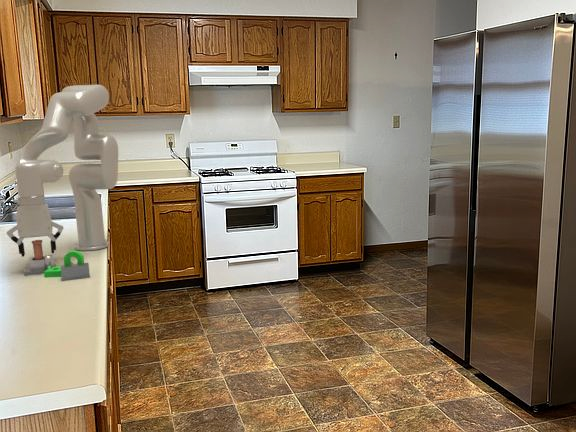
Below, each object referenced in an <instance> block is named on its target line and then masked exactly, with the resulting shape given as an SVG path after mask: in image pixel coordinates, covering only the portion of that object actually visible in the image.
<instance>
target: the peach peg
mask: <svg viewBox="0 0 576 432" xmlns="http://www.w3.org/2000/svg"><path fill="white" fill-rule="evenodd" d="M31 244H32V248H33V249H32V250H33V257H34V258H35V260H41V259H43V256H44V251H43V240H42V239H35V240H32V241H31Z"/></svg>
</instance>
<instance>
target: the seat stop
mask: <svg viewBox="0 0 576 432" xmlns="http://www.w3.org/2000/svg"><path fill="white" fill-rule="evenodd" d="M89 264H90V263H89V262H84V263H80V264H77V263H73V264H71V265H64V264H63V265H60V266H61V275H62V277H61V281H62V282H64V281H71V280H81V279H87V278H90V277H91V276H90V275H91V274H90V265H89Z"/></svg>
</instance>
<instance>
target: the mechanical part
mask: <svg viewBox="0 0 576 432" xmlns="http://www.w3.org/2000/svg"><path fill="white" fill-rule="evenodd" d="M71 258H74V259H76V261H77V262H76V264H80V263H85V258H84V255H83V253H82V252H80V250H76V249H75V250H70V251H68V252H67V253H66V254H65V255H64V257H63V265H71V264H74V263H73V262H72V261H71ZM61 266H62V265H59V266H55V267H52V268H49V269H47V270H46V271H44V276H43V277H44V278H59V277H60V278H62V275H61Z"/></svg>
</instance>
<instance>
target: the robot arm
mask: <svg viewBox="0 0 576 432" xmlns="http://www.w3.org/2000/svg"><path fill="white" fill-rule="evenodd" d="M108 91H109V90H108V89H107V88H106V87H105V86H104V85H101V84H82V85H81V84H78V85H70V86H69V85H68V86H66V87H64V88H63V89H62V90H61V91H60V92H56V93H54V94H53V95H51V97H50V99H49V102H48V106H47V109H46V111H45V116H44V119H43V122H42V125H41V128H40V130H39V131H38V132H37V133H36V134H34V136H32V137H31V138H30V140H29V141H28V142H27V143H26V144H25V145H24V146H23V147H22V149H21V152H20V155H19V158H18V162H17V164H16V165H15V177H16V185H17V194H18V197H17V198H14V199H13V203H14V204H18V205H19V206H17V208H16V224H15V226H13V227H11V228H10V229H9V230H7V231H6V235H7V236H8V237H9V238H10V239H11V241H12V242H14V243H15V244H17V246H18V254H19V255H21V257H23V258H24V257H25V255H26V253H25V252H26V251H25V244H24V242H23V241H24V239H28V238H29V239H30V238H39V237H48V238H49V239H50V248H51V249H50V251H51V254H54V253H55V251H56V250H57V244H56V240H57V239H58V238H59V237H60V236H61V234H62V232H63V230H64V225H62V224H58V223H56V222H54V221H53V220H52V217H51V216H52V215H51V211H50V208H49V205H48V203H46V200H45V199H46V198H45V191H44V190H45V189H44V183H45V184H47V183H50V184H51V183H55V182H58V181H59V180H61V178H62V177H63V175H64V167H63V165H62V164H61V163H60V162H59V161H57V160H56V159H55V160H54V159H39V158H40V156H41V154H43V153H44V152H45V151H46V150H49V149H50V148H52V147H54V146H57V145H58V144H60V143H62V142H64V141H65V140H67V138H68V137H69V136H68V135H69V132H70V127H71V125H72V121H73V124H74V141H73V143H74V144H73V145H74V146H73V147H74V149H73V150H74V155H75V157H76V158H77V159H79V160H80V161H100V163H79V164H76V165H73V166H72V167H70V169H69V172H68V180H69V184H70V186H71V190H72V195H73V201H74V210H75V219H76V230H77V241H78V243H77V244H74V249H75V250H76V251H81V252H82V251H95V250H96V251H97V250H103V249H105V248H108V247H110V241H108V240H106V238H105V236H106V235H105V227H104V216H103V205H102V199H101V197H100V195H99V193H98V192H97V190H112V189H114V188H115V187H116V185H117V184H118V177H119V175H118V174H119V145H118V142H117V139H116V138H115V137H114V136H113V135H111V134H108V133H106V134H105V133H104V134H103V133H102V134H101V133H100V132H99V131H100V129H99V128H100V125H99V120H98V118H97V116H96V114H95V113H97V112H99V111H101V110H102V109H104V108H106V106H107V105H108V104H109V101H110V96H109V92H108ZM53 227H54V228H55V229H57V231H56V232H55V234H54V233H53ZM16 231H17V235H18V237H19V238H18V237H17V236H16V235H14V233H15V232H16Z"/></svg>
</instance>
